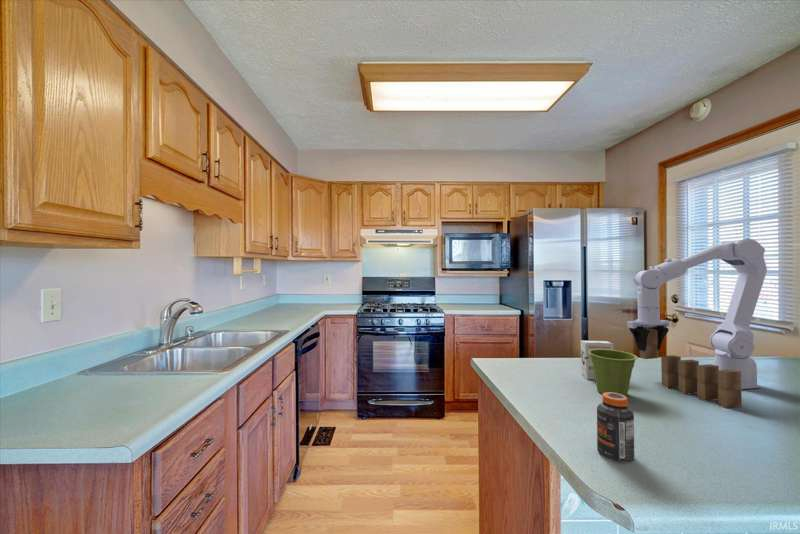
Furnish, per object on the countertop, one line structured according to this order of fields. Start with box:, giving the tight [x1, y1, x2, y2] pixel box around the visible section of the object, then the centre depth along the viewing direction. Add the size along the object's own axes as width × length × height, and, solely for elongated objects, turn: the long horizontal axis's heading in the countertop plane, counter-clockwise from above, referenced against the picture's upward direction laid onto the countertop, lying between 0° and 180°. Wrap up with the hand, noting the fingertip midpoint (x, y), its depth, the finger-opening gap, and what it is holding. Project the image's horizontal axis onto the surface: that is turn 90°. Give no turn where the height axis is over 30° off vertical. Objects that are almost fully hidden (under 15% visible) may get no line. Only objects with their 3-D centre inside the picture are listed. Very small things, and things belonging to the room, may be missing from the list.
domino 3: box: [678, 359, 700, 395], centre depth 96 cm, size 5×2×9 cm, turn 102°
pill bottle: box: [596, 392, 635, 464], centre depth 63 cm, size 6×6×11 cm
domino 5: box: [717, 369, 743, 409], centre depth 86 cm, size 5×2×9 cm, turn 102°
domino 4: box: [696, 363, 719, 401], centre depth 91 cm, size 5×2×9 cm, turn 102°
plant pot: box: [588, 349, 638, 397], centre depth 95 cm, size 12×12×11 cm
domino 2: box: [660, 355, 682, 388], centre depth 100 cm, size 5×2×9 cm, turn 102°
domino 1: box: [639, 328, 659, 360], centre depth 107 cm, size 5×2×9 cm, turn 102°
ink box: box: [580, 339, 615, 381], centre depth 109 cm, size 9×5×12 cm, turn 80°
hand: (649, 349), depth 107 cm, fingers closed on domino 1, 5 cm apart
